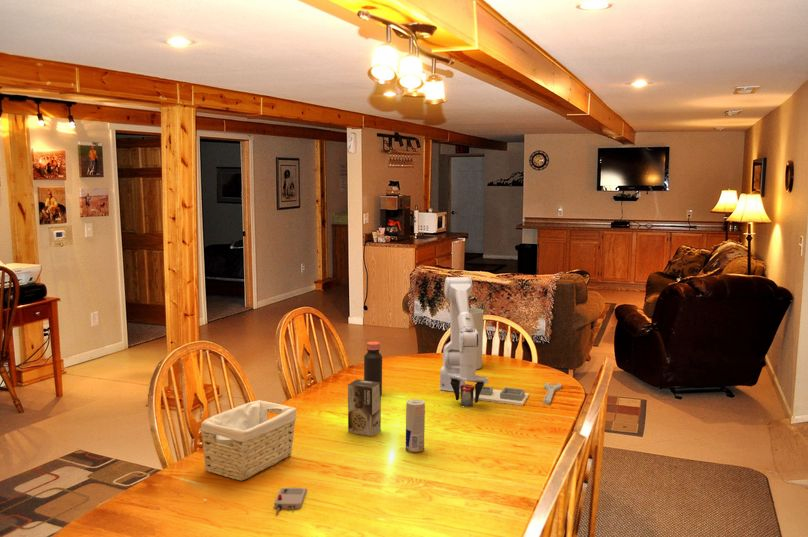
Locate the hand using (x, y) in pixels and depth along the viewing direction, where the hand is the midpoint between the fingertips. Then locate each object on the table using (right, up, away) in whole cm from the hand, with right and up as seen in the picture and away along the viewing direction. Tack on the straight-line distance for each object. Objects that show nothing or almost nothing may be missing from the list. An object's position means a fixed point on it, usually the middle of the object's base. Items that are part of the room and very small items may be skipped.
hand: (467, 400), depth 249 cm
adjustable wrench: (+32, -1, +14) cm, 36 cm away
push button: (0, -2, 0) cm, 2 cm away
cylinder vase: (+5, +5, +51) cm, 52 cm away
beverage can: (-19, -7, -41) cm, 46 cm away
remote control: (-51, -11, -75) cm, 92 cm away
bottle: (-35, 0, +10) cm, 36 cm away
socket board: (+13, -1, +9) cm, 16 cm away
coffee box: (-36, -5, -27) cm, 45 cm away
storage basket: (-66, -8, -53) cm, 85 cm away
